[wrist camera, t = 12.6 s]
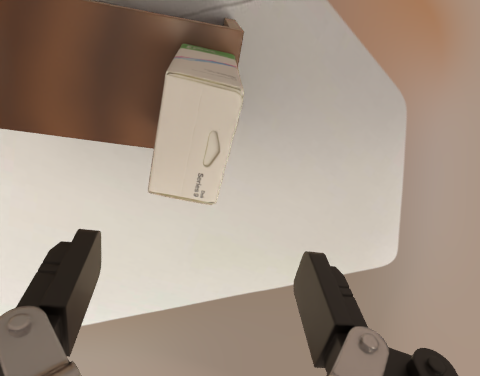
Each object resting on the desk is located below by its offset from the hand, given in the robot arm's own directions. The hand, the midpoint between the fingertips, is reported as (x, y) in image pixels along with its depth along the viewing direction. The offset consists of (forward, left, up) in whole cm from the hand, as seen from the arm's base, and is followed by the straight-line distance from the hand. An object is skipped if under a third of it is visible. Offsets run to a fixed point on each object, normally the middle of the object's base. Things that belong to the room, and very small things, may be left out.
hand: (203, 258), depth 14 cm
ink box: (0, -1, -22) cm, 22 cm away
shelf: (+6, -6, -32) cm, 33 cm away
